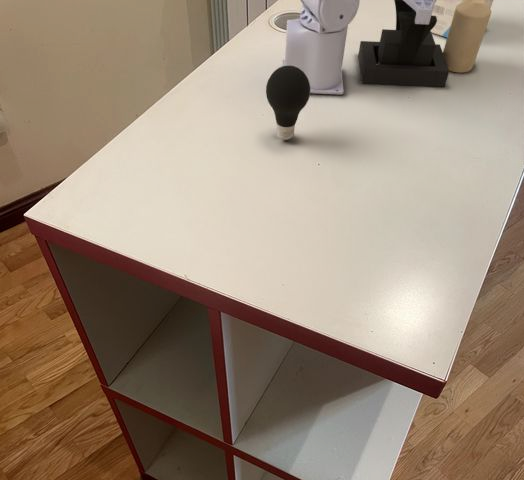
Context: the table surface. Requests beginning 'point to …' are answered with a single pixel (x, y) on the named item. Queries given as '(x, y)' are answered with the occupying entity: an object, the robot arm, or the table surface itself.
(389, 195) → the table surface
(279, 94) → the light bulb
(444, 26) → the ink box
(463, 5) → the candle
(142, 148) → the table surface
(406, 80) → the socket pad
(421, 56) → the small block
